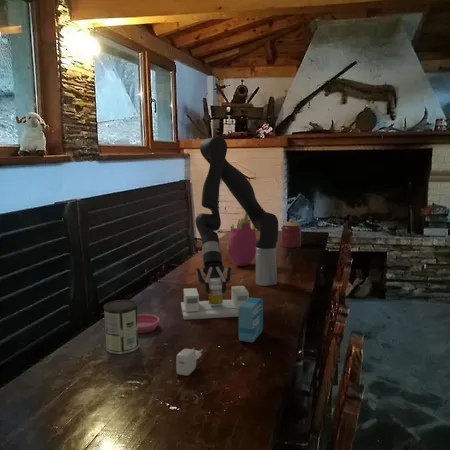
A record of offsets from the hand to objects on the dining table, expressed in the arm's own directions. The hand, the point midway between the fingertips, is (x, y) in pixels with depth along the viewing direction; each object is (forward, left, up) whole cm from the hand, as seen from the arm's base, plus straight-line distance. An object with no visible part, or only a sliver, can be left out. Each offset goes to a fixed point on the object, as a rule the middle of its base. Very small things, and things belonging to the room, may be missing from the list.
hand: (216, 292), depth 185 cm
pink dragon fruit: (-24, -72, -8) cm, 76 cm away
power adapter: (+14, +46, -8) cm, 49 cm away
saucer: (+28, +12, -8) cm, 32 cm away
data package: (-8, +26, -8) cm, 29 cm away
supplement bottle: (0, -2, -5) cm, 5 cm away
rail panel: (0, -2, -8) cm, 8 cm away
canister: (-65, -119, -8) cm, 135 cm away
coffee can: (+34, +28, -8) cm, 45 cm away
